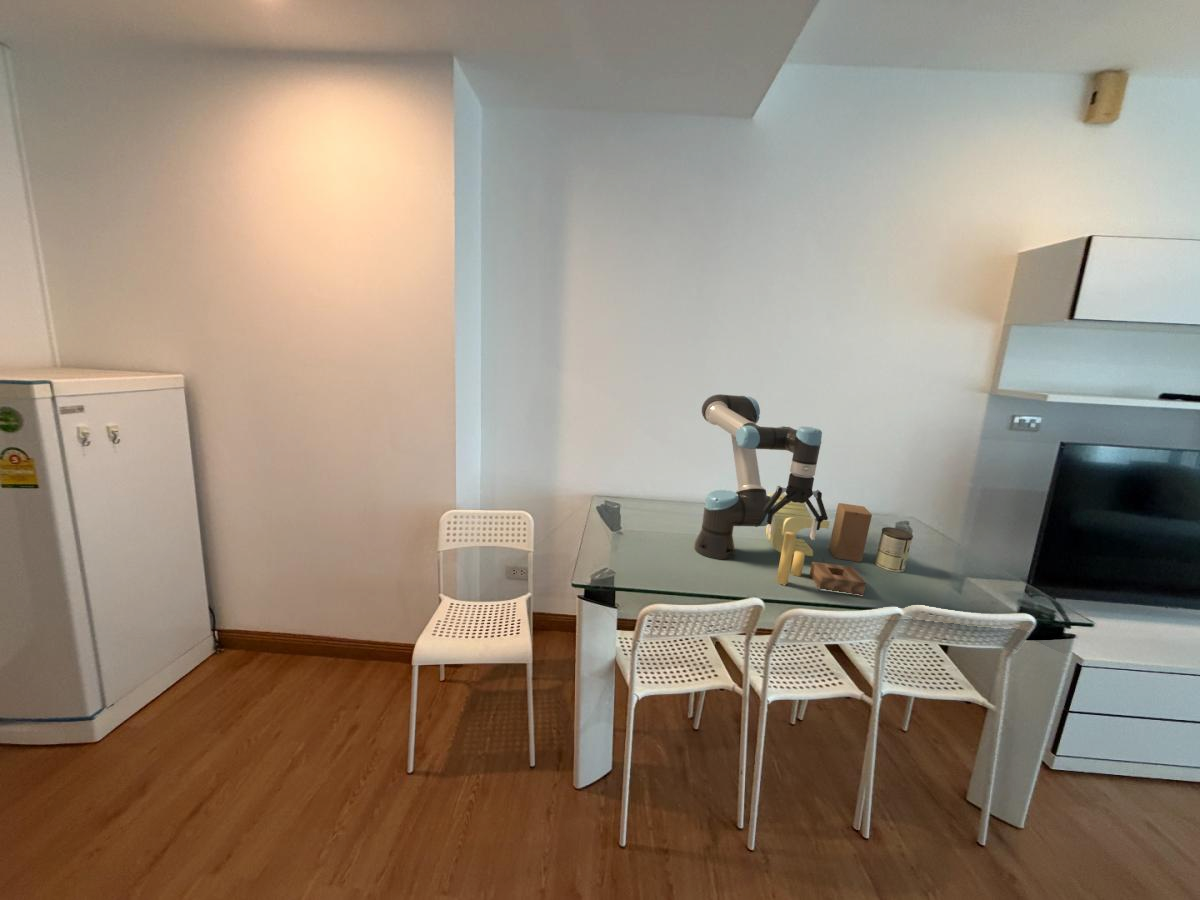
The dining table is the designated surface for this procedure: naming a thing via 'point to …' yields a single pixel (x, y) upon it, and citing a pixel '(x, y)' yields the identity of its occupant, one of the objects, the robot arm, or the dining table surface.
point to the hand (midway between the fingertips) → (791, 536)
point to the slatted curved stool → (792, 525)
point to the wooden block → (850, 532)
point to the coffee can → (893, 549)
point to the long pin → (786, 557)
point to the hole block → (837, 578)
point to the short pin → (797, 563)
